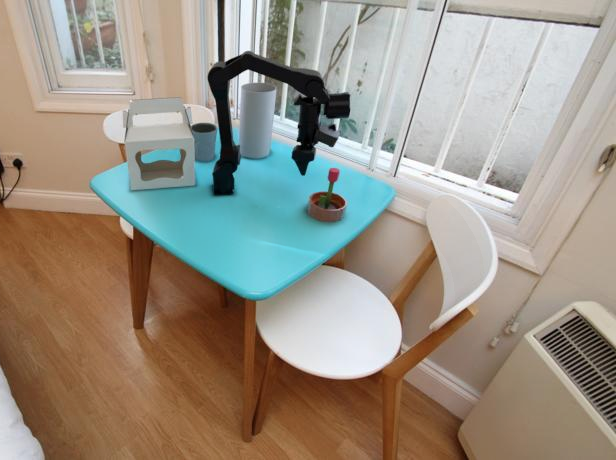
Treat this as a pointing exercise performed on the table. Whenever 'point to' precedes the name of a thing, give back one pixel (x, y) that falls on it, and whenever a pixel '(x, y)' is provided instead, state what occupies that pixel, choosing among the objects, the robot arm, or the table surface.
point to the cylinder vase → (256, 119)
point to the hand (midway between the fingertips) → (305, 168)
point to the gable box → (159, 145)
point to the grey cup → (204, 141)
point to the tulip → (329, 190)
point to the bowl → (325, 213)
